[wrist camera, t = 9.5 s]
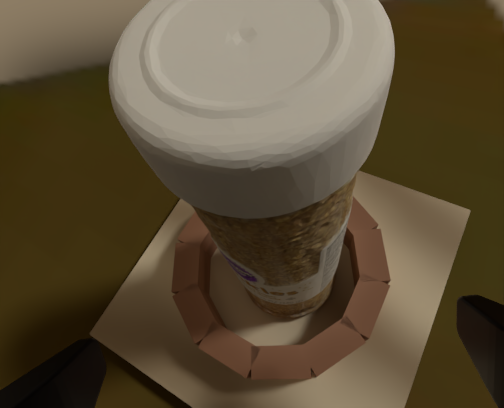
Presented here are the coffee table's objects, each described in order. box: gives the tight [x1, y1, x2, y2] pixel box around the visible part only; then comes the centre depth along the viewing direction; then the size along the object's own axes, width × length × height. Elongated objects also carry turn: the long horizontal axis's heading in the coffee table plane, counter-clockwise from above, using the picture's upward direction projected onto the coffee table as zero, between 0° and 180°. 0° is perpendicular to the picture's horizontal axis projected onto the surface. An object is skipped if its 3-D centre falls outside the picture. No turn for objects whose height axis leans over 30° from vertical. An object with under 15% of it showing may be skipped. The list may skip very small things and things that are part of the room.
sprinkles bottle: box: [109, 0, 395, 318], centre depth 11 cm, size 5×5×14 cm
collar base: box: [89, 171, 471, 408], centre depth 17 cm, size 14×14×3 cm
